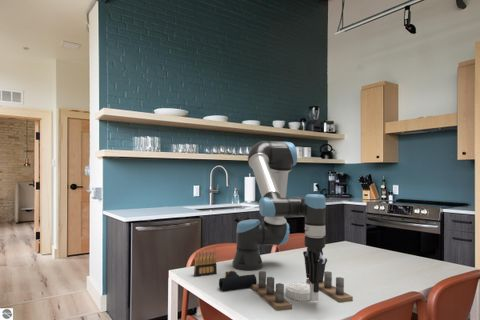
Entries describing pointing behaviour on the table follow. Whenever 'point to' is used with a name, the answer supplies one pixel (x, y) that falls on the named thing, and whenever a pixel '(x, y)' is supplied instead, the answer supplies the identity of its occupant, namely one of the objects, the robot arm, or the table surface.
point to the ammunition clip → (205, 264)
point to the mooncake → (298, 291)
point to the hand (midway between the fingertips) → (314, 300)
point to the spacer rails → (281, 303)
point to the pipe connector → (236, 281)
